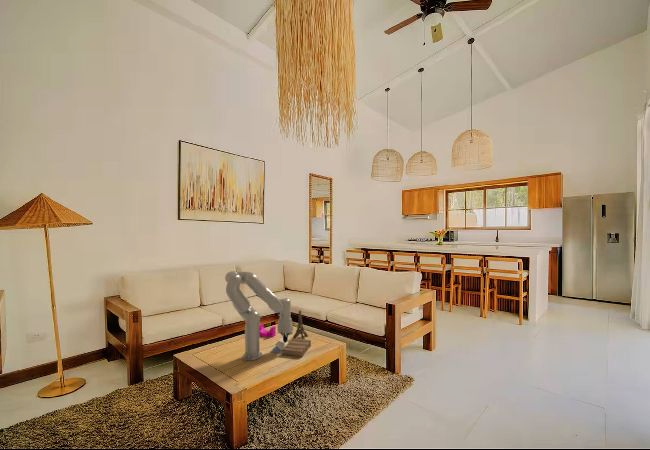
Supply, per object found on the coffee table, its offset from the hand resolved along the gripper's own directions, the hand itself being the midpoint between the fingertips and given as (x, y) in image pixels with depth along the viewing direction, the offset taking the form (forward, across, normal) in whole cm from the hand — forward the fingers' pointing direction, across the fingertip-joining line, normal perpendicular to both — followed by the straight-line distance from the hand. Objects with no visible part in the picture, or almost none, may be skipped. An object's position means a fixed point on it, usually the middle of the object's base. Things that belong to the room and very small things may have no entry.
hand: (285, 341), depth 217 cm
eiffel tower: (+5, +3, +23) cm, 24 cm away
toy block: (+6, -26, +20) cm, 33 cm away
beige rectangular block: (+2, -3, 0) cm, 3 cm away
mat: (+5, -4, 0) cm, 6 cm away
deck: (+5, +9, 0) cm, 10 cm away
